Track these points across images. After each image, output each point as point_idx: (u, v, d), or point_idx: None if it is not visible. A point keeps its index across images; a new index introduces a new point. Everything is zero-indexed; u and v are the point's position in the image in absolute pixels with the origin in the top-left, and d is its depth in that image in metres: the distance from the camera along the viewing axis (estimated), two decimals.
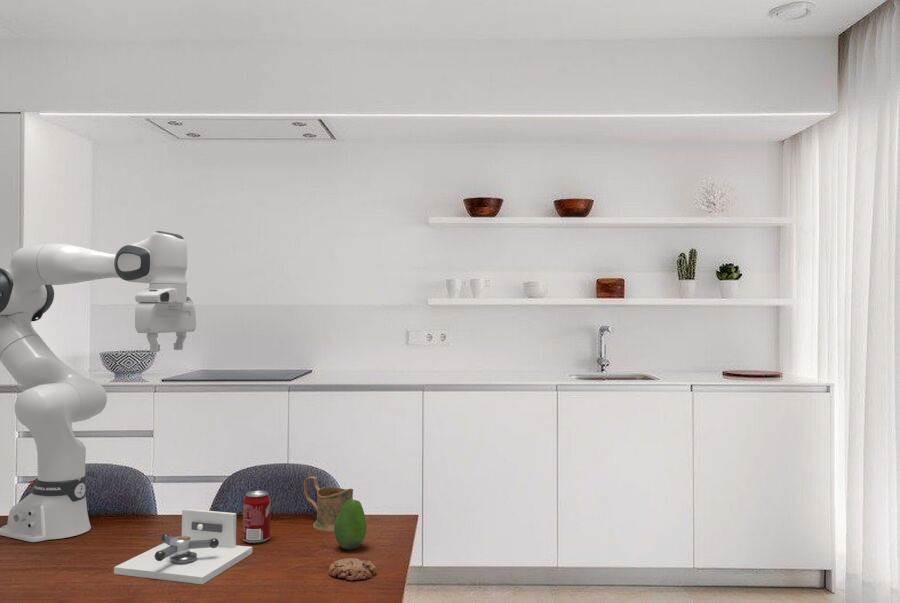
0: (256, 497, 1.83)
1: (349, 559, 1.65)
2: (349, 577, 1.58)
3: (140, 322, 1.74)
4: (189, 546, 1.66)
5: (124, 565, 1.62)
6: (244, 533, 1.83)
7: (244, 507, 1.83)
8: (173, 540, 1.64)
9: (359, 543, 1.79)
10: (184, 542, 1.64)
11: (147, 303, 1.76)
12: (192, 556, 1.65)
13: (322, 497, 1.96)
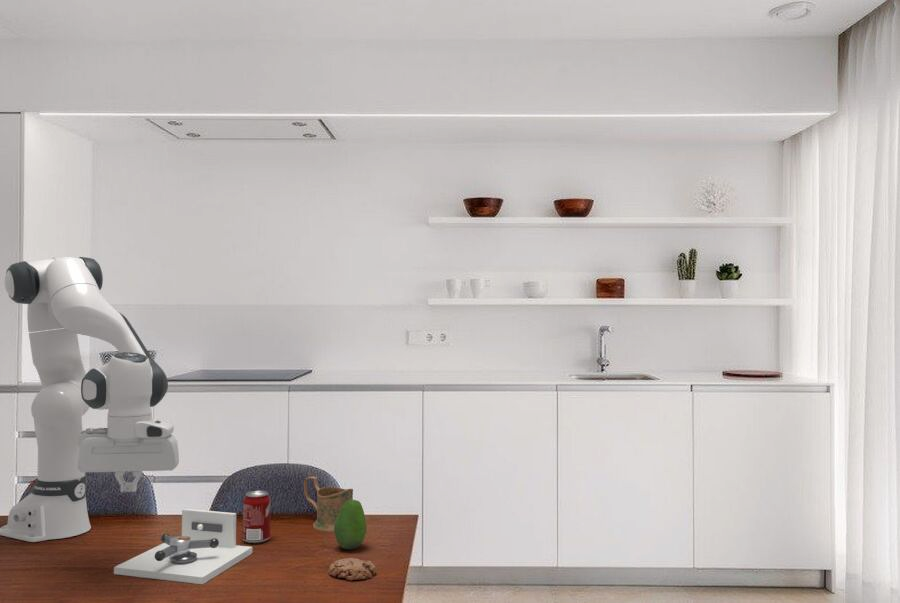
0: (256, 497, 1.83)
1: (349, 559, 1.65)
2: (349, 577, 1.58)
3: (176, 457, 1.60)
4: (189, 546, 1.66)
5: (124, 565, 1.62)
6: (244, 533, 1.83)
7: (244, 507, 1.83)
8: (173, 540, 1.64)
9: (359, 543, 1.79)
10: (184, 542, 1.64)
11: (169, 436, 1.60)
12: (192, 556, 1.65)
13: (322, 497, 1.96)
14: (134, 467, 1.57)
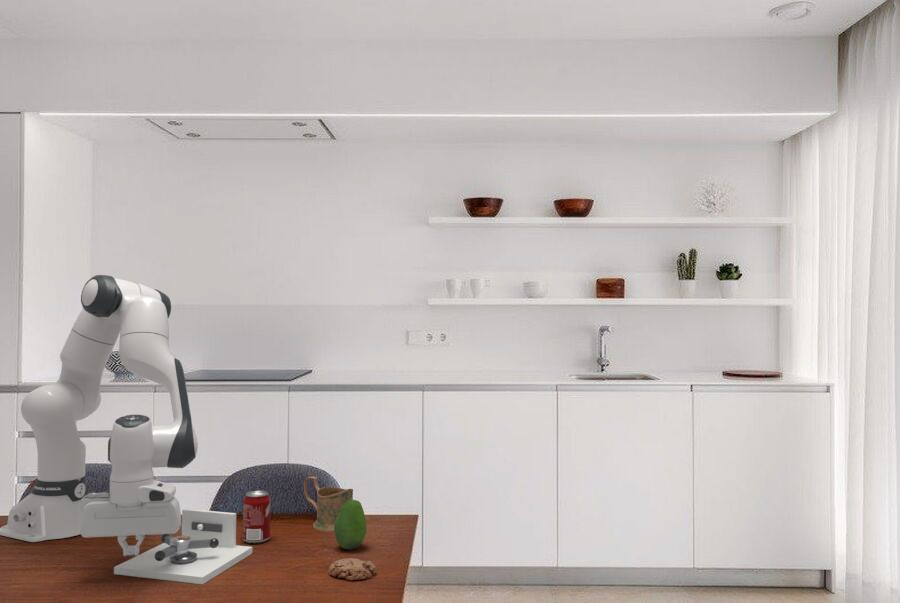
0: (256, 497, 1.83)
1: (349, 559, 1.65)
2: (349, 577, 1.58)
3: (179, 520, 1.60)
4: (189, 546, 1.66)
5: (124, 565, 1.62)
6: (244, 533, 1.83)
7: (244, 507, 1.83)
8: (173, 540, 1.64)
9: (359, 543, 1.79)
10: (184, 542, 1.64)
11: (172, 498, 1.60)
12: (192, 556, 1.65)
13: (322, 497, 1.96)
14: (137, 531, 1.57)
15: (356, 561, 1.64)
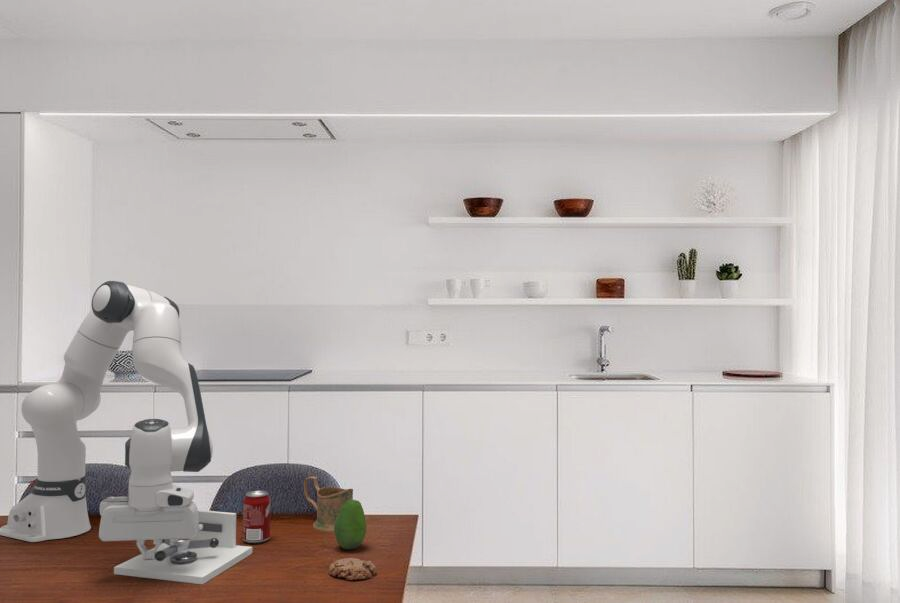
0: (256, 497, 1.83)
1: (349, 559, 1.65)
2: (349, 576, 1.58)
3: (197, 524, 1.60)
4: (189, 546, 1.66)
5: (124, 565, 1.62)
6: (244, 533, 1.83)
7: (244, 507, 1.83)
8: (173, 540, 1.64)
9: (359, 543, 1.79)
10: (184, 542, 1.64)
11: (190, 503, 1.60)
12: (192, 556, 1.65)
13: (322, 497, 1.96)
14: (155, 535, 1.57)
15: (356, 561, 1.64)
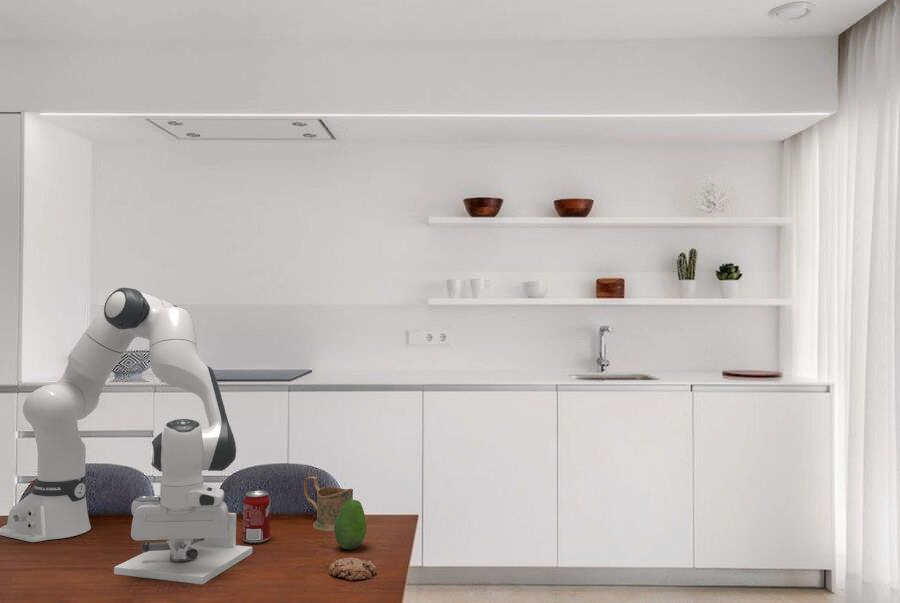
0: (256, 497, 1.83)
1: (349, 559, 1.65)
2: (349, 576, 1.58)
3: (227, 524, 1.61)
4: None
5: (124, 565, 1.62)
6: (244, 533, 1.83)
7: (244, 507, 1.83)
8: (180, 541, 1.64)
9: (359, 543, 1.79)
10: None
11: (221, 503, 1.61)
12: None
13: (322, 497, 1.96)
14: (186, 535, 1.58)
15: (356, 561, 1.64)
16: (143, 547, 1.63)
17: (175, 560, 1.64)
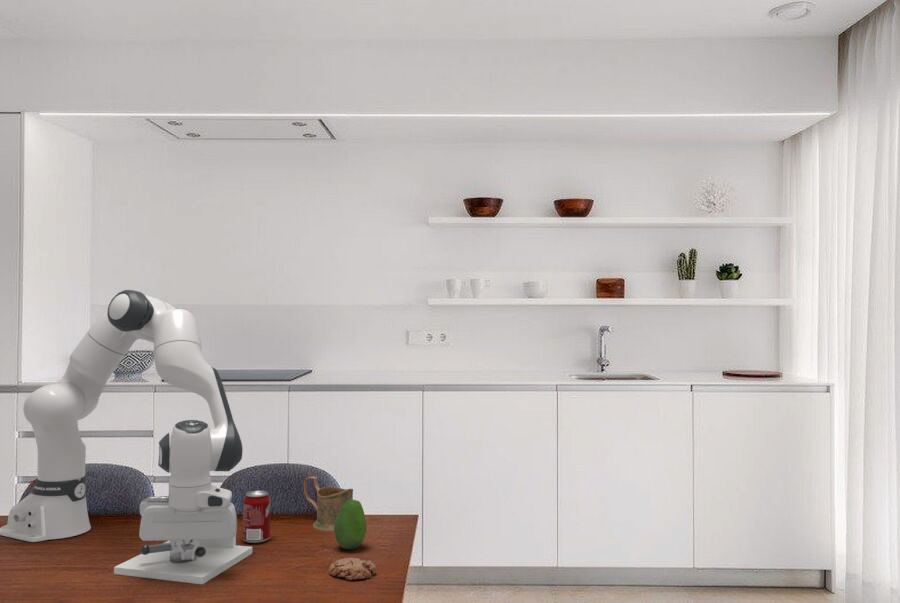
0: (256, 497, 1.83)
1: (349, 559, 1.65)
2: (349, 576, 1.58)
3: (235, 525, 1.62)
4: None
5: (124, 565, 1.62)
6: (244, 533, 1.83)
7: (244, 507, 1.83)
8: None
9: (359, 543, 1.79)
10: None
11: (229, 504, 1.62)
12: None
13: (322, 497, 1.96)
14: (194, 536, 1.59)
15: (356, 561, 1.64)
16: (144, 550, 1.62)
17: (178, 560, 1.64)
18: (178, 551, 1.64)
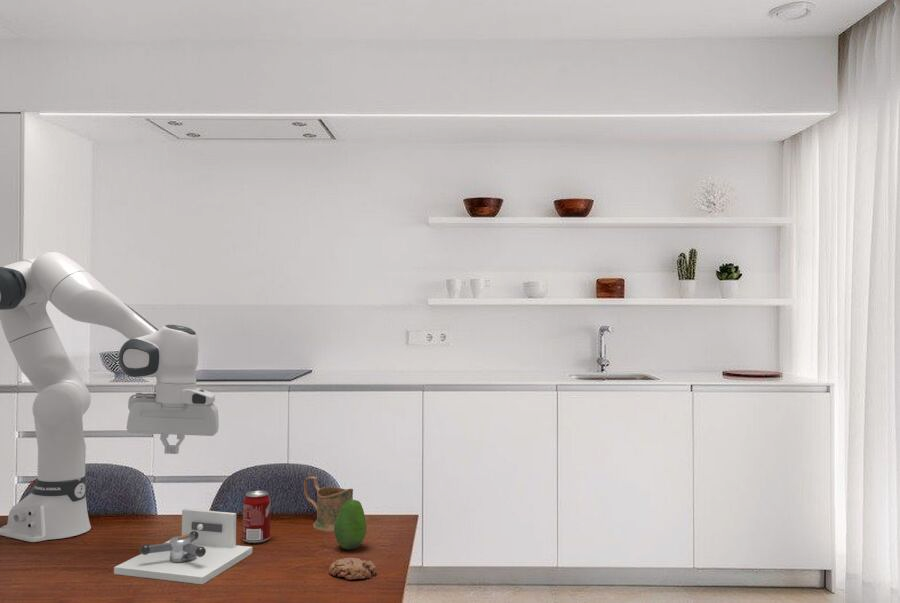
0: (256, 497, 1.83)
1: (350, 558, 1.65)
2: (348, 576, 1.59)
3: (217, 424, 1.73)
4: None
5: (124, 565, 1.62)
6: (244, 533, 1.83)
7: (244, 507, 1.83)
8: (182, 540, 1.64)
9: (359, 543, 1.79)
10: (190, 539, 1.67)
11: (211, 404, 1.73)
12: None
13: (322, 497, 1.96)
14: (178, 431, 1.70)
15: (356, 561, 1.64)
16: (144, 550, 1.62)
17: (178, 560, 1.64)
18: (178, 551, 1.64)
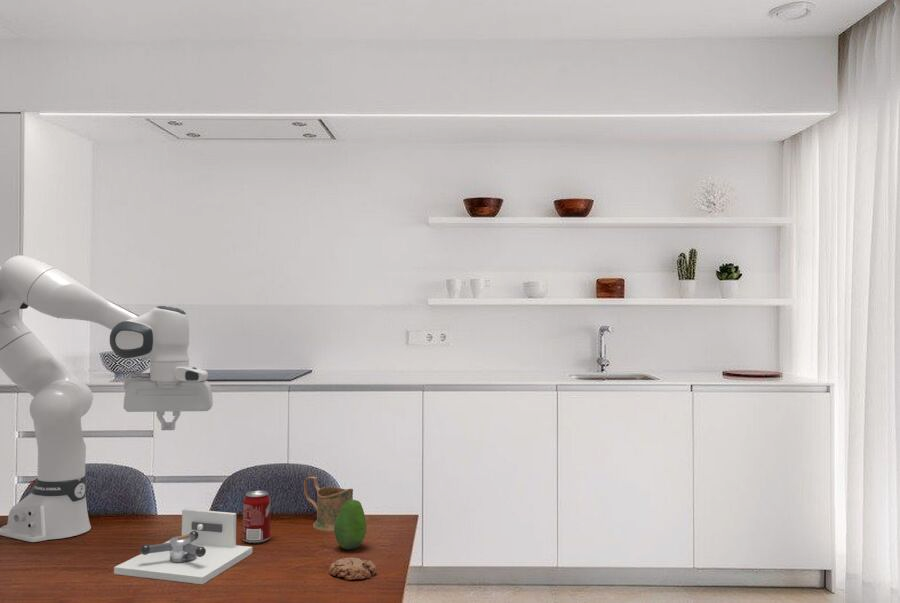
0: (256, 497, 1.83)
1: (350, 558, 1.65)
2: (348, 576, 1.59)
3: (211, 400, 1.79)
4: None
5: (124, 565, 1.62)
6: (244, 533, 1.83)
7: (244, 507, 1.83)
8: (182, 540, 1.64)
9: (359, 543, 1.79)
10: (190, 539, 1.67)
11: (205, 381, 1.79)
12: None
13: (322, 497, 1.96)
14: (173, 407, 1.76)
15: (356, 561, 1.64)
16: (144, 550, 1.62)
17: (178, 560, 1.64)
18: (178, 551, 1.64)
